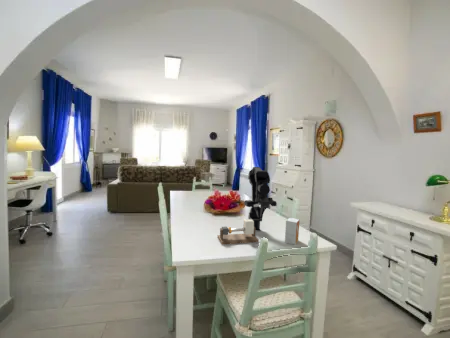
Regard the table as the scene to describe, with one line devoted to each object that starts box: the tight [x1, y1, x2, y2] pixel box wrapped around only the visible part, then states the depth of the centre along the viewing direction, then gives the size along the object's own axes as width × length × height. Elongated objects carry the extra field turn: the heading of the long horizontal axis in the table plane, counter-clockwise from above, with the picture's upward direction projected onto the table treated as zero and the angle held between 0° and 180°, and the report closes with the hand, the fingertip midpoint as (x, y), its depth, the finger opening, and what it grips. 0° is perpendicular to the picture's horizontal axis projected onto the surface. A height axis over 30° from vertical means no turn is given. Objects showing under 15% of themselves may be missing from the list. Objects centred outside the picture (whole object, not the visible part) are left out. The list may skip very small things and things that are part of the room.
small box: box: [284, 217, 300, 245], centre depth 140 cm, size 8×6×13 cm
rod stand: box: [216, 226, 260, 246], centre depth 140 cm, size 22×11×8 cm, turn 105°
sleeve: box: [242, 218, 254, 234], centre depth 142 cm, size 5×4×8 cm
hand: (259, 217), depth 143 cm, fingers closed
